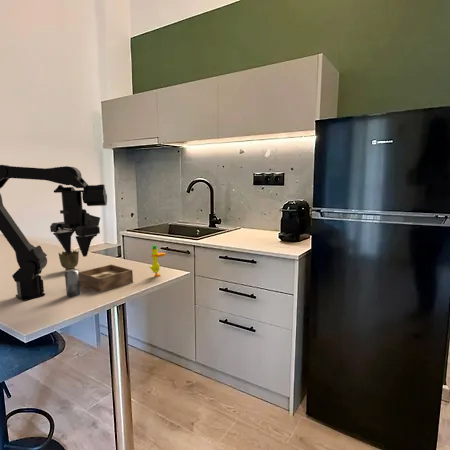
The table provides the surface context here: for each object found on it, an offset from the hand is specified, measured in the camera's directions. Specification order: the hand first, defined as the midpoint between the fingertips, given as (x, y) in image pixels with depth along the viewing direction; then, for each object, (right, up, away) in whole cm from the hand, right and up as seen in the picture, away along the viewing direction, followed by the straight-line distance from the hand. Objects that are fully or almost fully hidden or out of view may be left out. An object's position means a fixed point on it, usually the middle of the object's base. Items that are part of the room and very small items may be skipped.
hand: (76, 254), depth 106 cm
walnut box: (+6, -11, +11) cm, 17 cm away
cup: (-15, -9, +27) cm, 32 cm away
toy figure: (+22, -10, +19) cm, 31 cm away
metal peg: (-1, -13, 0) cm, 13 cm away
